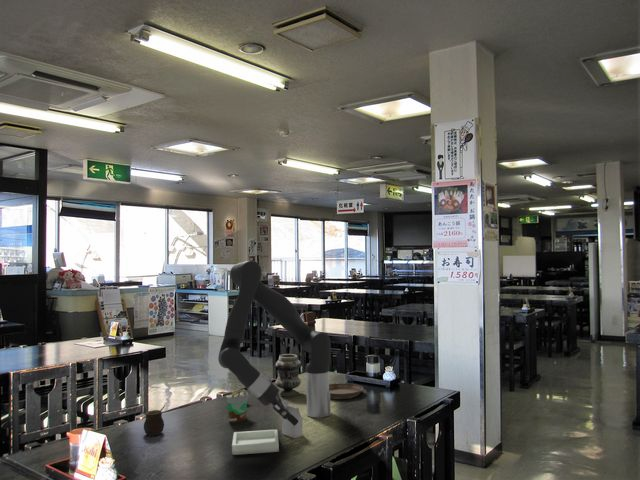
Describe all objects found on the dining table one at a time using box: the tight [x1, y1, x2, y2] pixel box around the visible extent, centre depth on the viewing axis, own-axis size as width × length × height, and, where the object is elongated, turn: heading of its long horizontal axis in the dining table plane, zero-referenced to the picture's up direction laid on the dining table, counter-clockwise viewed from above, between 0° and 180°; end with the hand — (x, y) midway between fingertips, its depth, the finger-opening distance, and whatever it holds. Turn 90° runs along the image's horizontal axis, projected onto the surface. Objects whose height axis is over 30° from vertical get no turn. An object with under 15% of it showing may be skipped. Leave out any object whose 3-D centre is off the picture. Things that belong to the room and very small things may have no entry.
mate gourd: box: [143, 405, 166, 437], centre depth 186 cm, size 7×8×10 cm
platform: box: [225, 388, 249, 399], centre depth 222 cm, size 12×18×7 cm, turn 130°
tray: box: [231, 428, 280, 456], centre depth 171 cm, size 15×13×3 cm
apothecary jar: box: [275, 353, 302, 398], centre depth 239 cm, size 12×12×18 cm
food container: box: [226, 389, 250, 424], centre depth 201 cm, size 12×6×10 cm, turn 168°
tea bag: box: [281, 404, 304, 439], centre depth 182 cm, size 4×7×10 cm, turn 44°
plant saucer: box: [329, 382, 364, 400], centre depth 235 cm, size 21×21×3 cm
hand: (295, 419), depth 182 cm, fingers open, 8 cm apart
